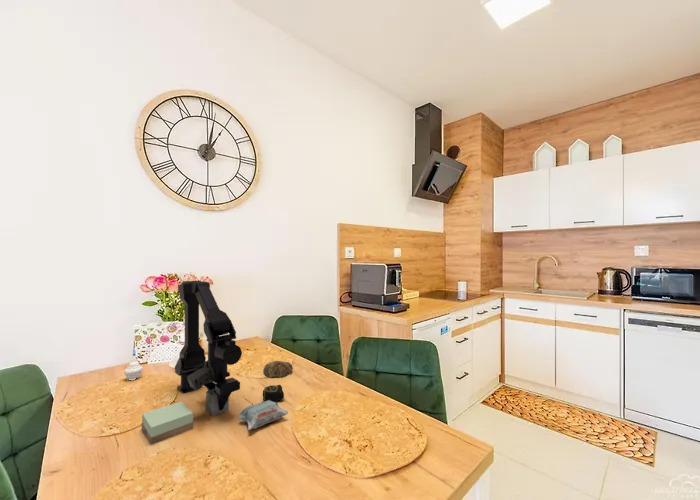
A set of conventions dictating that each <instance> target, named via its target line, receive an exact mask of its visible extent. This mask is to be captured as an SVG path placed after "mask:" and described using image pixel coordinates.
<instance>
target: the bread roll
mask: <svg viewBox="0 0 700 500" xmlns="http://www.w3.org/2000/svg"><path fill="white" fill-rule="evenodd" d="M293 371H294V368H293V365H292V363H291V362H289V361H281V360H273V361H270V362H269V363H266V364H265V366H264V367H263V375H264V374H265V375H264V376H265V377H267V378H270V379H271V378H276V377H277V378H280V379H281V378H282V379H283V378H286V377H288V376H289V374H290V375H292V374H293Z"/></svg>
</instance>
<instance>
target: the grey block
mask: <svg viewBox="0 0 700 500" xmlns="http://www.w3.org/2000/svg"><path fill="white" fill-rule="evenodd" d="M214 390H215V389H212V390H209V391H208V390H207V391H205V411H206V413H208V414H209V415H210V416H212V417H214V416H217V415H219V414H222V413H225V412H227V411H229V407H230V406H229V405H230V404H229V402H230V397H229V398H228V400H227V402H226V404H225V406H224V408H223V410H219V407H218V400H217V394H215V393H214V392H212V391H214Z"/></svg>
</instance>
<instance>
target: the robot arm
mask: <svg viewBox="0 0 700 500" xmlns="http://www.w3.org/2000/svg"><path fill="white" fill-rule="evenodd" d="M177 292H178V294H179V299H180V300H181V302H182V303H183V305H184V345H183V347H182V348H181V350H180V351H179V357H178V359H177V361H176V364H175V366H174V372H175V374H176V375H178V377H180V385H179V386H177V390H179V391H180V392H181V393H182V394H186V393H189V392H192V391H196V390H199V389H201V388H202V387H203V386H204V387H205V388H206V389H207V391H209V390H212V389H215V390H214V391H212V392H214V393H215V394H217V400H218V407H219V410H223V408H224V406H225V404H226V402H227V400H228V398H229V399H230V396H231V394H232V393H233V392H236V391H239V390H241V381H239V380H237V379H236V378H234V377H230V376H231V373H230V372H229V371H228V365H229V366H234V365H235V364H237V363H238V362H239V361H240V360H241V358H242V353H243V351H242V349H241V346H239V345H237V344H236V340H237V331H236V330H235V327H234V324H233V322H232V320H231V319H230V317H229V316H228V314H227V312H225V311H223V310H221V309H220V307H219V306H218V303H217V301H216V299H215V297H214V294H213V292H212V290H211V285H210V283H209V282H208V281H202V280H185V281H182V282H181V284H179V285H178V287H177ZM200 309H201V312H202V314H203V316H204V322H203V323H202V324H203V332H204V334H205V336H206V342H207V357H206V355H205V349H204V348H203V347H202V345H200ZM206 359H207V360H206ZM228 377H229V378H228Z"/></svg>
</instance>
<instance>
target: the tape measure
mask: <svg viewBox="0 0 700 500" xmlns="http://www.w3.org/2000/svg"><path fill="white" fill-rule="evenodd" d="M284 398H285V394H284V391H283V386H282V385H281V384H277V385H276V384H275V385H273V384H271V385H268V386H266V387H265V388H263V390H262V399H263V401H264V402H265V401H268V400H270V401H273V402H277V401H281V400H283V399H284Z"/></svg>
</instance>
